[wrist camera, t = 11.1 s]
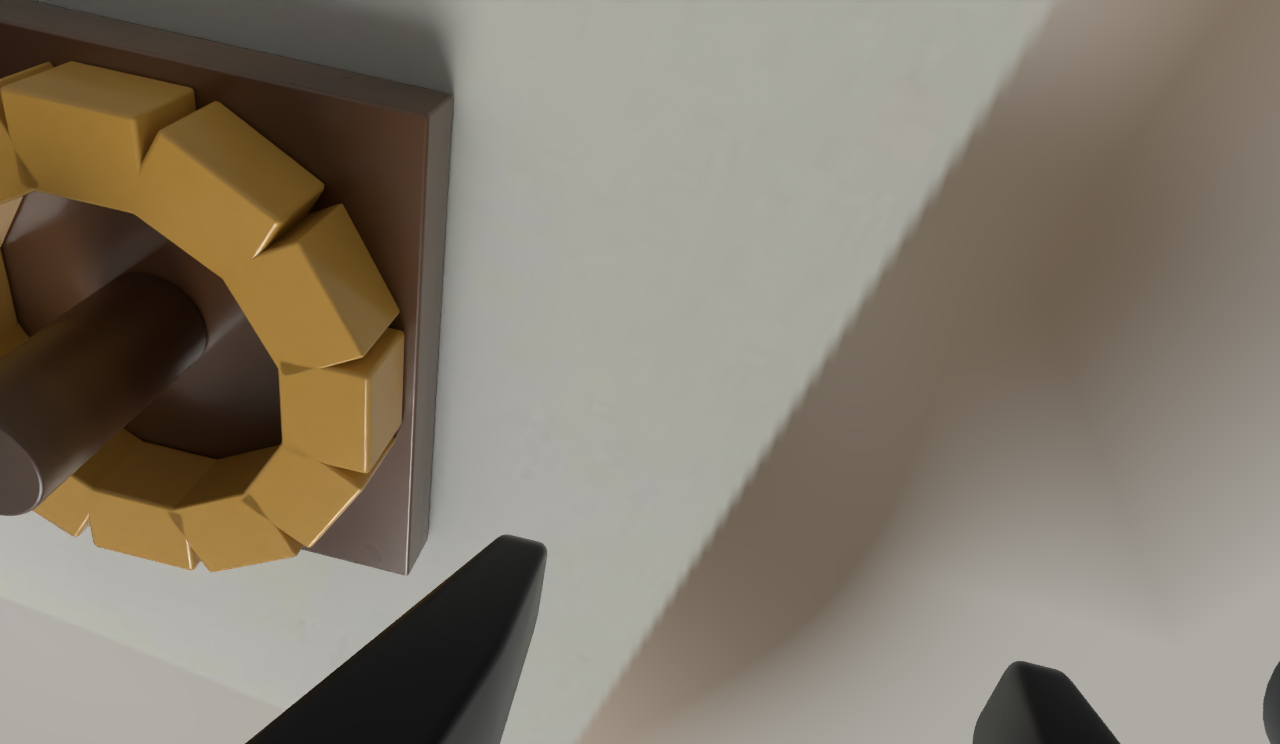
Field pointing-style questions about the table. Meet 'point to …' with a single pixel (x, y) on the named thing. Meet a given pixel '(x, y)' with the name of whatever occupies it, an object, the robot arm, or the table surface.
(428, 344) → the stand
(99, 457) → the brass ring
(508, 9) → the table surface
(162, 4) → the table surface
